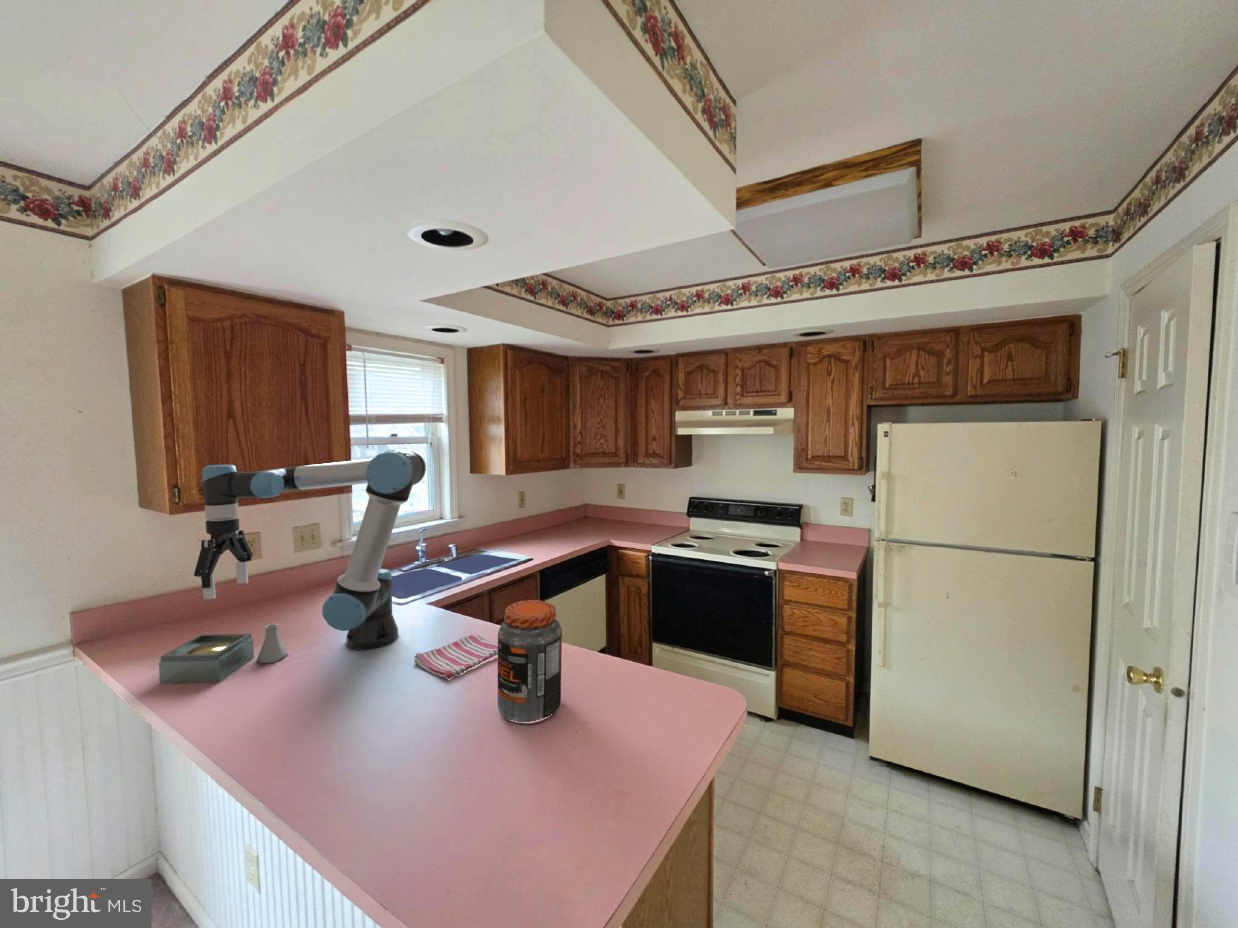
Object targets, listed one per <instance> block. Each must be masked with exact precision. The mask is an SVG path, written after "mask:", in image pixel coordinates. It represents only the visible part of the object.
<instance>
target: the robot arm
mask: <svg viewBox="0 0 1238 928" xmlns="http://www.w3.org/2000/svg"><path fill="white" fill-rule="evenodd" d="M426 464H427V463H426V461H425V459H424V458H423V456H422V455H421V454H420V453H418V452H417V451H415V450H413V449H407V448H406V449H397V450H386V451H382V452H380V453H378V454H376V455H375V456H374V457H372V458H369V459H368V458H367V459H359V460H358V459H357V460H348V461H339V462H329V463H320V464H309V465H300V466H287V467H281V468H275V469H273V468H272V469H267V470H259V471H238V470H237V467H236V466H235V465H234V464H211V465H206V466H204V467H203V468H202V480H201V482H202V489H203V498H204V514H205V515H204V516H205V517H204V518H205V519H206V521H205V531H206V534H208V535H210V539H202V540H201V542H200V544H201V545H200V551H199V555H198V557H197V562H196V566H195V569H194V572H193V576H194V577H197V578H198V577H199V578H201V588H202V599H203V600H214V599H216V598H217V593H216V581H215V575H214V574H213V572H215V568H216V566H217V563H218V561H219V560H220V557H221V555H223V554H224V552H226V551H230V553H231V554H232V555H233V557H234V558H235V559H236V560H237V561H236V562H235V569H236V570H235V572H236V584H248V583H249V574H248V573H249V571H248V569H249V567H248V562H251V561H252V557H253V553H252V551H251V547H250V546H249V544H248V541H247V539H246V537H245V531H244V530H243V529H241V530H240V518H238V516H239V515H240V510H239V499H241V498H243V499H248V498H250V499H256V498H258V499H259V498H260V499H267V498H276V497H279V496H280V494H282V493H287V492H298V491H305V490H313V489H322V488H323V489H324V488H325V489H326V488H333V487H334V488H335V487H343V486H353V485H364V484H367V485H366V489H365V492H366V494H367V496H368V497H369V498H368V501H367V504H366V507H365V510H364V513H363V514H364V515H363V517H362V520H361V523H360V527H359V528H358V529H359V530H358V533H357V536H356V539H355V543H354V546H353V549H352V552H351V555H350V558H349V561H348V565H347V568H346V571H345V573H343V574H341V575H340V576H338V577H337V580H336V584H335V585H334V586H335V587H334V589H333V592H332V594H331V595H329V596H328V597H327V599H326V600H325V601H324V602H323V605H322V609H321V614H322V618H323V620H324V621H325V623H326V624H327V625H329V627H331V628H333V629H334V630H337V631H341V632H347V633H346V639H345V640H346V646H347V647H348V648H350V649H353V650H369V649H370V650H371V649H377V648H381V647H384V646H388V645H389V644H392V643H393V642H395V641H396V640H397V639H398V638H399V628H398V625H397V623H396V622H397V621H396V620H395V618H394V614H393V578H392V576H393V575H392V572H391V571H390V570H389V569H386V568H381V567H382V565H383V561H384V558H385V554H386V551H387V548H388V545H389V542H390V539H391V536H392V533H393V530H394V526H395V524H396V520H397V517H398V514H399V511H400V507H401V505H402V504H404V503H406V502H408V501H409V498H410V494H411V492H412V488H413V486H415V485H417V484H419V482H420V481H422V480H423V478H425V477H424V476H425V475H426V471H427V465H426Z"/></svg>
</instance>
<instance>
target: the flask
mask: <svg viewBox="0 0 1238 928" xmlns="http://www.w3.org/2000/svg"><path fill="white" fill-rule="evenodd" d="M278 627H279V624H278V623H271V624H268V625H265V626H264V627H263V628H264V630H265V636H264V640H263V644H262V646H261V649H260V651H259V653H258V656H257V658H256V662H258V663H260V664H272V663H277V662H278V661H281V660H284V659H285V658H286V657H287V656H288V652H287V650H286V648H285V646H284V645H283V643H282V641H281V638H280V635H279V633H278Z"/></svg>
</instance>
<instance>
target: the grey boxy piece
mask: <svg viewBox="0 0 1238 928" xmlns="http://www.w3.org/2000/svg"><path fill="white" fill-rule="evenodd" d="M254 647H255V646H254V638H253V637H252V633H249V632H248V633H200V634H199V635H197V636H195V637H193V638H192V639H189V640H187V641H186V642H184V643H183V644H181V645H178V646H177V647H175V648H173V649H172V650H170V651H168V652H166V653H164V654H163V655H161V656H160V661H158V673H159V685H160V684H166V685H167V684H195V683H196V684H200V683H201V684H202V683H203V684H204V683H207V684H208V683H221V682H222V681H224V680H225V679H226V678H228V677H229V676H231V675H233V673H235V672H236V671H238V670H239V669H240V668H242V667H244V665H246V664H248V663H249V662H250V661H252V660H253V659H254V658H255V652H254V651H255V650H254V649H255V648H254Z"/></svg>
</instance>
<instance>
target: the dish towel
mask: <svg viewBox="0 0 1238 928" xmlns="http://www.w3.org/2000/svg"><path fill="white" fill-rule="evenodd" d="M415 654H416V655H414V656H413V659H414V660H413V661H414V663H415V664H416V665H418V666H419V667H421V669H423V670H425V671H427V672H429V671H430V672H429V673H431V674H433V675H435V676H438V675H439V677H442V678H444V677H445V678H444V679H446V678H448V679H450V678H452V677H454V676H457V675H460V674H461V673H464V671H467V670H468V669H469V668H472V667H475V665H478V664H480V663H481V662H483V661H485V660H487V659H489V658H491V657H493V656H495V655H498V642H495V641H492V640H489V639H486V638H484V637H482V636H480V635H478V634H470V635H467V636H465V637H461V638H459V639H457V640H455V641H454V642H451V643H449V644H446V645H444V646H440V647H438V648H436V649H435V648H433V649H431V650H427V651H425V652H424V651H423V652H422V653H419V652H417V653H415ZM460 676H461V675H460ZM454 678H455V677H454ZM448 679H447V680H448Z"/></svg>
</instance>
